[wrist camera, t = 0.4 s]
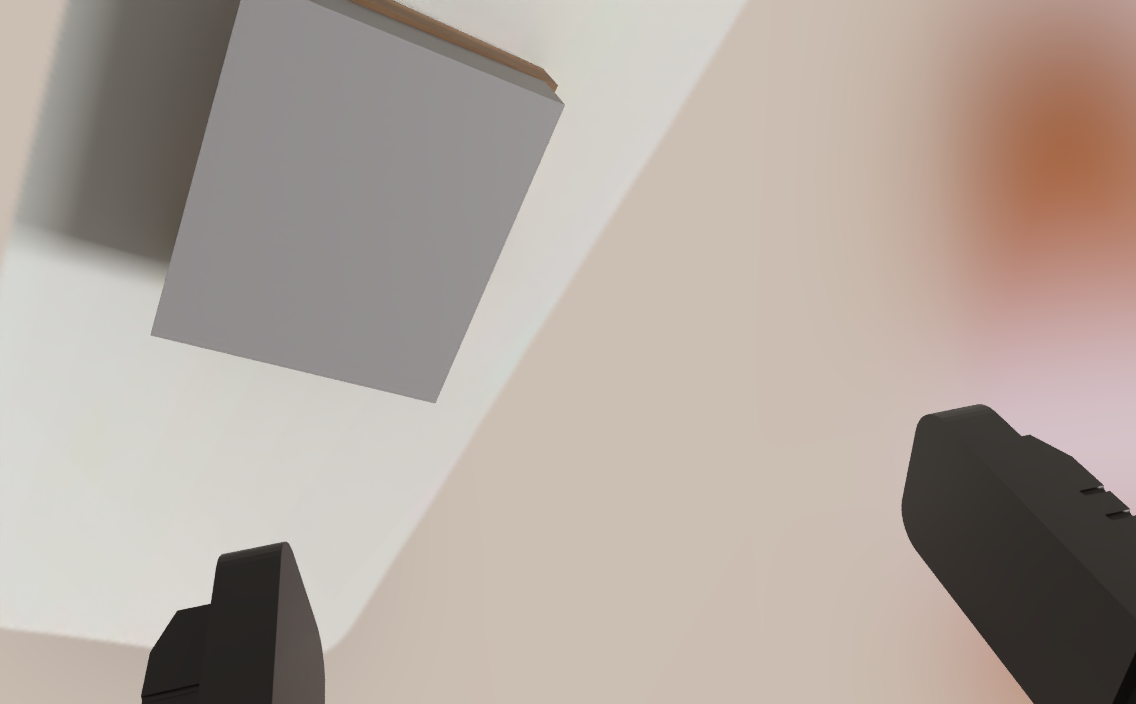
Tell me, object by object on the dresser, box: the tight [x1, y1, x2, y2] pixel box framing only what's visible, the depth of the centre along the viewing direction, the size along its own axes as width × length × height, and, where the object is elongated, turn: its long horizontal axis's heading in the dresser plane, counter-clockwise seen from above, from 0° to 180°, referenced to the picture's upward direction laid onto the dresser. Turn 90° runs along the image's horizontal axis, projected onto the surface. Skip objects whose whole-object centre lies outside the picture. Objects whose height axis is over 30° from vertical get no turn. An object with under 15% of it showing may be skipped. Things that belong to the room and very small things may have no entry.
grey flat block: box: [151, 0, 565, 403], centre depth 30 cm, size 12×10×3 cm
